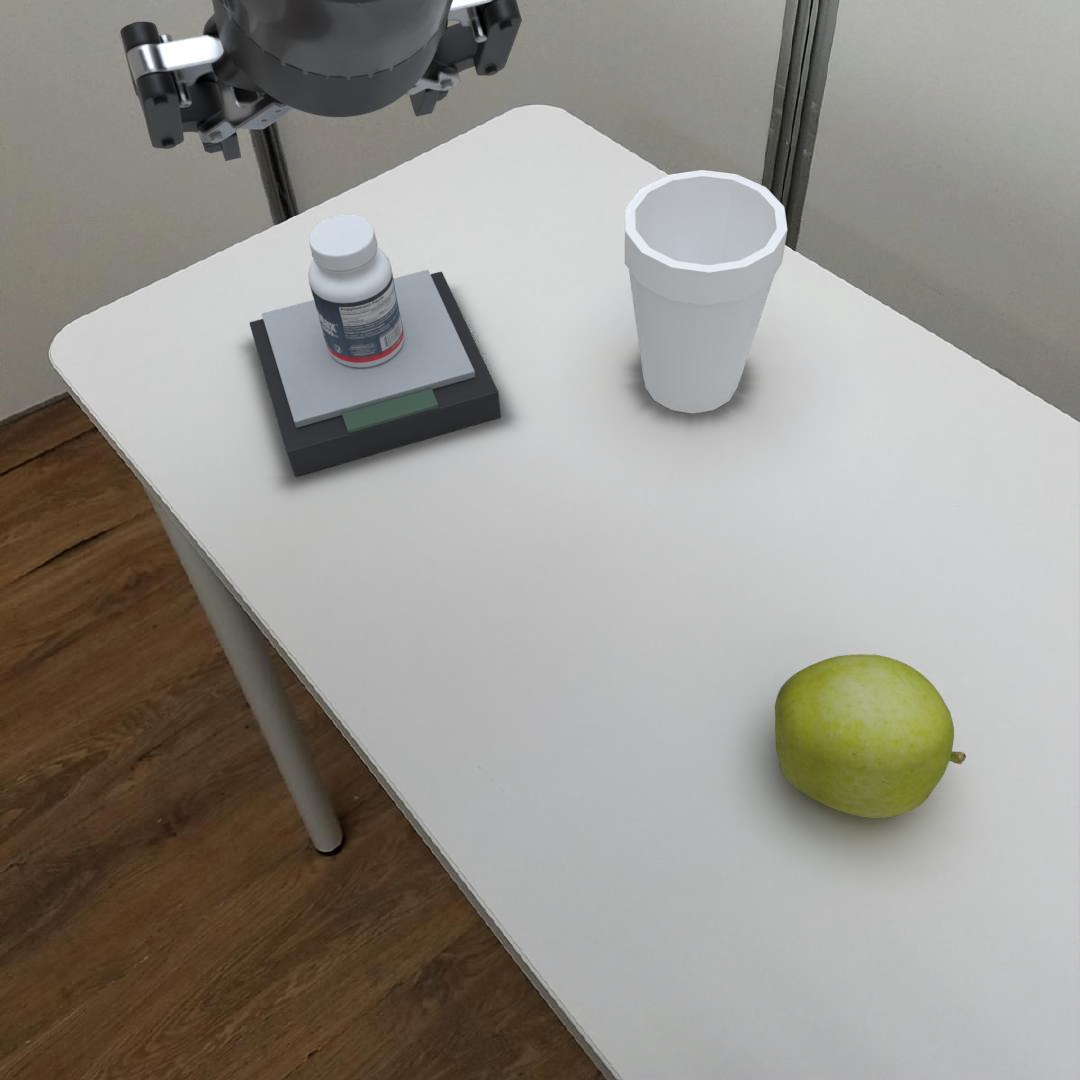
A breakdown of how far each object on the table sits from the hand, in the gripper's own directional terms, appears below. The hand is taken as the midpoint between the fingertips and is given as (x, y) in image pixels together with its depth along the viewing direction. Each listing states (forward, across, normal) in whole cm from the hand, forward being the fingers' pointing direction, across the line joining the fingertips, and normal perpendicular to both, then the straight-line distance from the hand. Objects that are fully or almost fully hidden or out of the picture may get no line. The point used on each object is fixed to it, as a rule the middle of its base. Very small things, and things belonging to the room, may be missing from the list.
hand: (322, 114), depth 48 cm
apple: (+1, -17, +37) cm, 41 cm away
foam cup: (+21, -21, +16) cm, 34 cm away
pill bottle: (+25, -1, +8) cm, 26 cm away
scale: (+27, -1, +10) cm, 29 cm away
